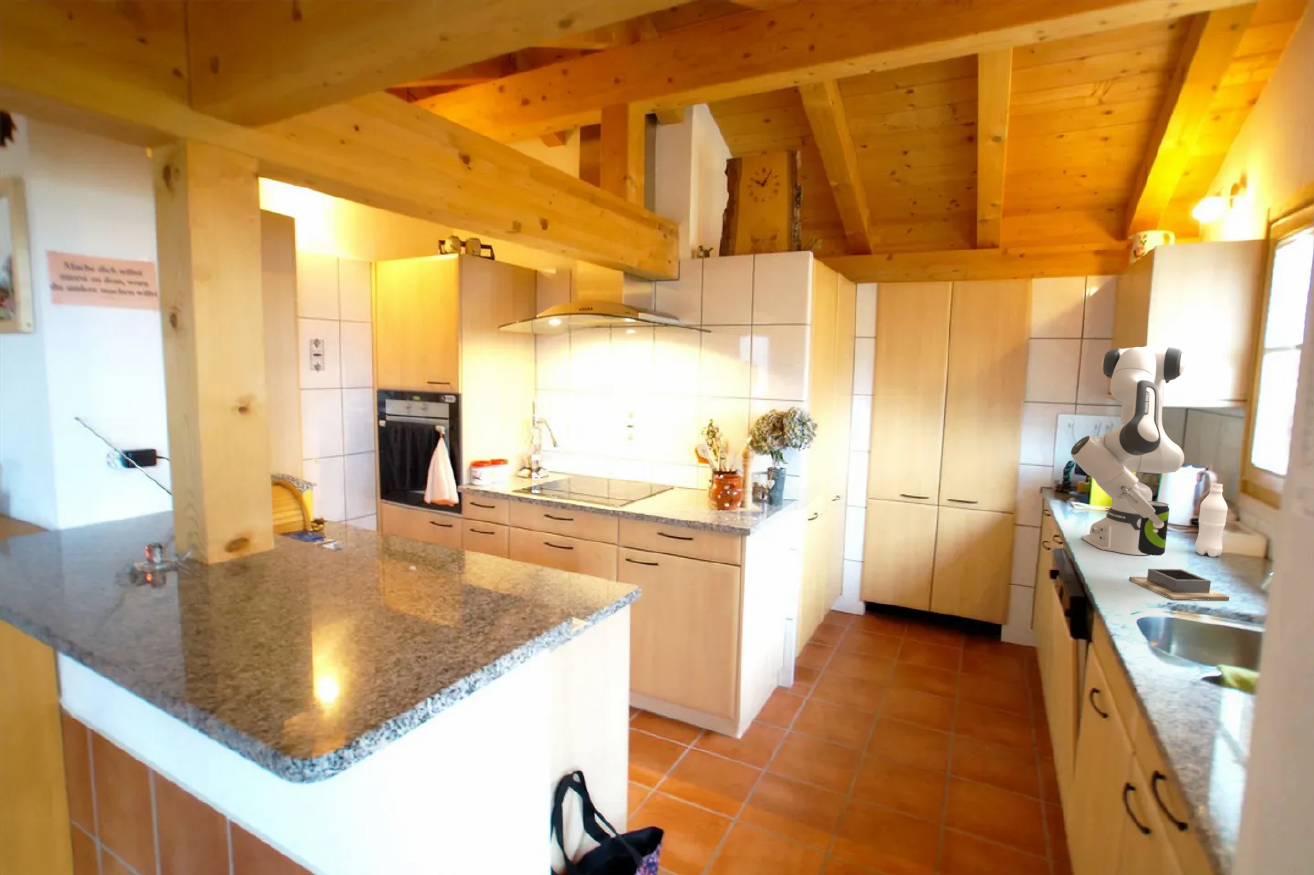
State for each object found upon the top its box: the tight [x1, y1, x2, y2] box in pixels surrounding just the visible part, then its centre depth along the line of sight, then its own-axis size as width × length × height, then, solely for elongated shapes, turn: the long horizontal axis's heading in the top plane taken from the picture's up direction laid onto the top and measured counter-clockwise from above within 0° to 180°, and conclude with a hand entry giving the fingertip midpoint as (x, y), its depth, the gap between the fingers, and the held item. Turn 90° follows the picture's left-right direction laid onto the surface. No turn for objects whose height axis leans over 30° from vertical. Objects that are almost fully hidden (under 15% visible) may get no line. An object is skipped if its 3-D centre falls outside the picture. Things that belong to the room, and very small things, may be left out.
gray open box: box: [1146, 568, 1212, 593], centre depth 183 cm, size 10×10×4 cm
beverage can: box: [1138, 500, 1170, 557], centre depth 185 cm, size 6×6×15 cm
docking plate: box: [1128, 576, 1230, 601], centre depth 184 cm, size 16×16×1 cm
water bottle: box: [1194, 482, 1229, 558], centre depth 217 cm, size 7×7×25 cm
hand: (1157, 520), depth 184 cm, fingers closed on beverage can, 6 cm apart
